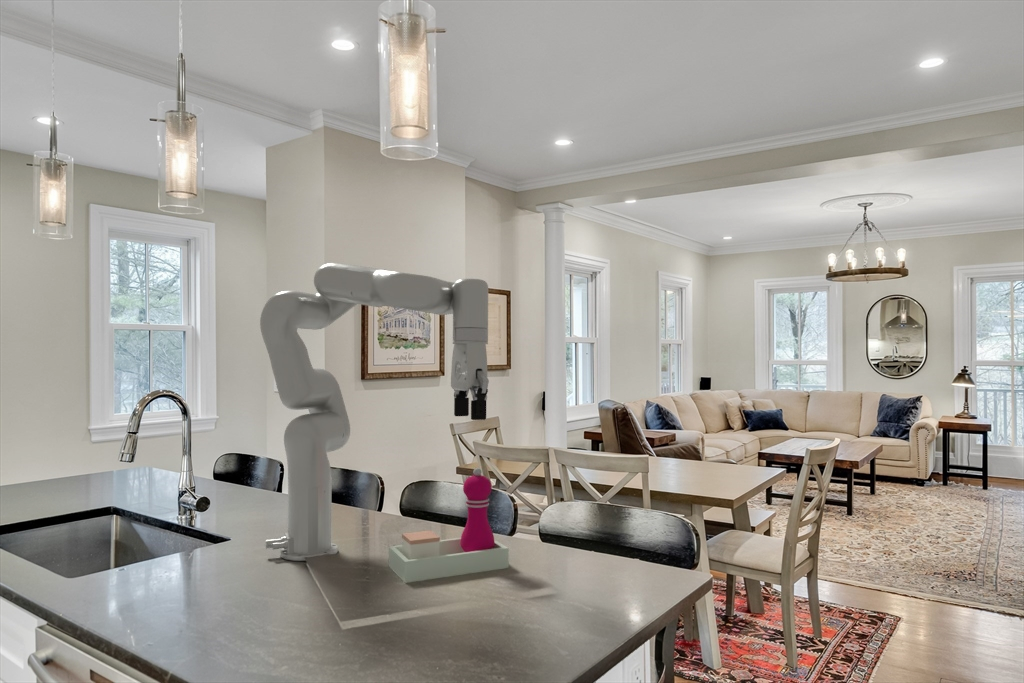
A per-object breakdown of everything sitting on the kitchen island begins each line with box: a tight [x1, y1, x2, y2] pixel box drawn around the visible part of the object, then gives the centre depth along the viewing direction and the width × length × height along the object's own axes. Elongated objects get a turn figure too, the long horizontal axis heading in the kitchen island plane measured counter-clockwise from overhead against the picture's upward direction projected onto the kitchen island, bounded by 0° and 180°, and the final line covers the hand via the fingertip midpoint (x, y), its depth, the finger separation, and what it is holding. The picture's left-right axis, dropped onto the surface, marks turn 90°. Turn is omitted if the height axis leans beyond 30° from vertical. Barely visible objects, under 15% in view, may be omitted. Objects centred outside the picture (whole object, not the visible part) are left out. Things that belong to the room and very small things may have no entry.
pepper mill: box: [460, 467, 495, 552], centre depth 142 cm, size 7×7×20 cm
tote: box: [388, 537, 510, 584], centre depth 139 cm, size 22×12×5 cm, turn 115°
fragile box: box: [401, 530, 441, 560], centre depth 137 cm, size 6×6×7 cm
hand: (469, 417), depth 142 cm, fingers open, 9 cm apart
